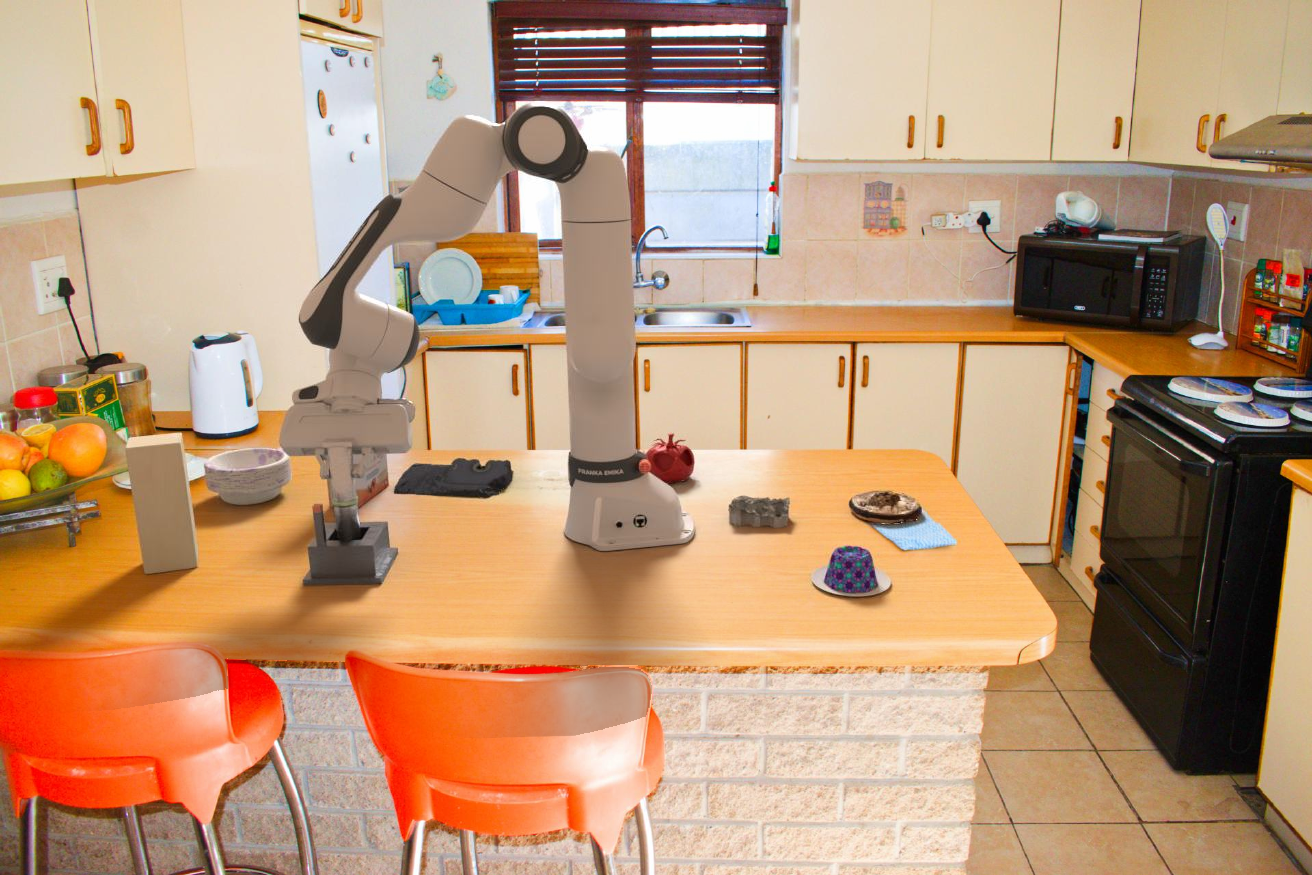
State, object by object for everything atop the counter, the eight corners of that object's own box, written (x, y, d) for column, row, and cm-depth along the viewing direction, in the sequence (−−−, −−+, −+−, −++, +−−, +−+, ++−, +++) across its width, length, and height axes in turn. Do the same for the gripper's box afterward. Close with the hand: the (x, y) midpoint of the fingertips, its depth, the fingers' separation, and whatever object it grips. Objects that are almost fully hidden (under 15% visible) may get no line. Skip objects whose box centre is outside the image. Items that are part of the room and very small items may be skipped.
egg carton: (725, 526, 183) (725, 504, 181) (732, 511, 190) (732, 490, 188) (786, 531, 180) (786, 509, 179) (791, 515, 187) (792, 494, 186)
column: (365, 531, 167) (356, 436, 162) (359, 540, 163) (349, 443, 159) (338, 531, 167) (327, 436, 162) (331, 541, 163) (320, 444, 159)
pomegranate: (638, 474, 210) (636, 430, 207) (685, 468, 213) (684, 424, 210) (653, 489, 201) (651, 442, 198) (702, 482, 204) (701, 436, 201)
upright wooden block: (200, 550, 175) (182, 430, 169) (199, 567, 168) (180, 442, 162) (148, 558, 172) (127, 436, 166) (144, 575, 165) (123, 448, 159)
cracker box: (358, 510, 192) (347, 400, 186) (328, 508, 193) (316, 399, 187) (391, 485, 205) (382, 381, 199) (363, 483, 206) (353, 380, 200)
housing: (398, 553, 173) (391, 481, 169) (381, 583, 161) (374, 507, 157) (325, 554, 172) (317, 483, 169) (303, 585, 161) (294, 509, 157)
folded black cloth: (416, 470, 215) (414, 448, 213) (520, 474, 212) (519, 452, 210) (387, 496, 200) (385, 473, 199) (498, 500, 197) (497, 477, 196)
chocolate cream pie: (862, 533, 179) (863, 511, 178) (830, 504, 193) (831, 482, 192) (942, 525, 182) (943, 503, 181) (904, 497, 196) (906, 476, 195)
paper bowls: (305, 483, 207) (300, 445, 204) (276, 511, 192) (271, 470, 190) (229, 484, 207) (223, 446, 205) (194, 511, 193) (188, 470, 190)
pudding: (794, 581, 161) (795, 549, 159) (847, 561, 168) (849, 530, 166) (853, 608, 152) (855, 575, 150) (907, 586, 159) (909, 554, 157)
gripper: (420, 408, 171) (413, 484, 165) (294, 411, 171) (283, 487, 164) (412, 388, 166) (404, 466, 159) (282, 391, 165) (269, 469, 159)
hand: (341, 477), depth 162 cm, fingers closed on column, 4 cm apart
